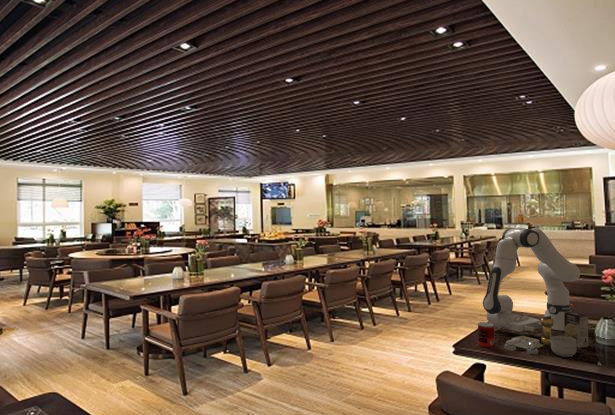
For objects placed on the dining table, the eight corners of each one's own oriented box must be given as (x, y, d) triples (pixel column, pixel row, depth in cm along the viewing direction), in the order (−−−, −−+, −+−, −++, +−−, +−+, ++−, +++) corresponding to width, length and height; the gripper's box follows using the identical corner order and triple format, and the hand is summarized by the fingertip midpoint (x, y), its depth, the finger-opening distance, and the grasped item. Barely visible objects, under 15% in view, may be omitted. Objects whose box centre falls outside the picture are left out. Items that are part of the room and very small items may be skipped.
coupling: (545, 341, 223) (544, 314, 223) (555, 344, 219) (555, 317, 219) (538, 343, 220) (538, 316, 221) (549, 346, 216) (549, 318, 216)
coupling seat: (521, 340, 226) (521, 331, 226) (543, 346, 216) (543, 337, 216) (497, 346, 216) (497, 337, 216) (519, 353, 206) (519, 344, 206)
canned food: (493, 344, 220) (493, 322, 220) (494, 348, 213) (494, 326, 213) (477, 342, 223) (477, 321, 223) (478, 347, 215) (478, 325, 215)
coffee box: (563, 342, 222) (563, 311, 222) (573, 341, 224) (572, 310, 224) (579, 347, 213) (579, 315, 214) (589, 346, 215) (588, 314, 215)
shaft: (523, 348, 213) (523, 339, 213) (533, 348, 212) (533, 339, 212) (528, 353, 205) (528, 344, 205) (538, 354, 204) (538, 345, 204)
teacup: (566, 360, 196) (566, 342, 196) (545, 353, 206) (544, 336, 206) (586, 356, 202) (586, 339, 202) (564, 349, 211) (564, 333, 212)
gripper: (503, 319, 230) (527, 325, 218) (525, 314, 240) (550, 319, 228) (503, 330, 230) (527, 337, 218) (525, 325, 240) (550, 331, 228)
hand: (539, 328), depth 223 cm, fingers open, 8 cm apart
